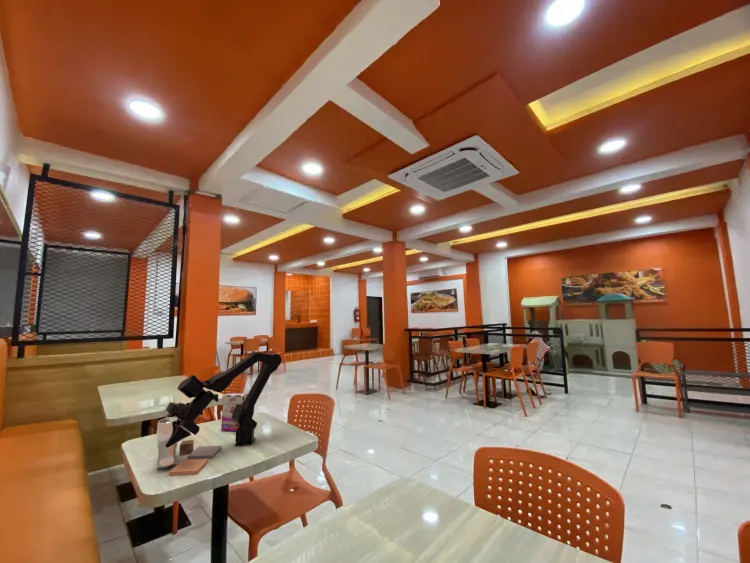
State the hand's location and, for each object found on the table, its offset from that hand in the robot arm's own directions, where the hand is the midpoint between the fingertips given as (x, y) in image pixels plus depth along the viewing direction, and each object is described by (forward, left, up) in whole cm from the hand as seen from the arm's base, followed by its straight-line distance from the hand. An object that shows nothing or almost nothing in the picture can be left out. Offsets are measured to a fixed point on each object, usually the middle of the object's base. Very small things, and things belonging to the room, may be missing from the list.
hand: (163, 444), depth 112 cm
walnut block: (-2, -13, -8) cm, 15 cm away
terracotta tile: (-10, +1, -8) cm, 13 cm away
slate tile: (-10, -11, -8) cm, 17 cm away
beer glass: (-1, -1, -7) cm, 7 cm away
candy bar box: (-12, -37, -8) cm, 40 cm away
